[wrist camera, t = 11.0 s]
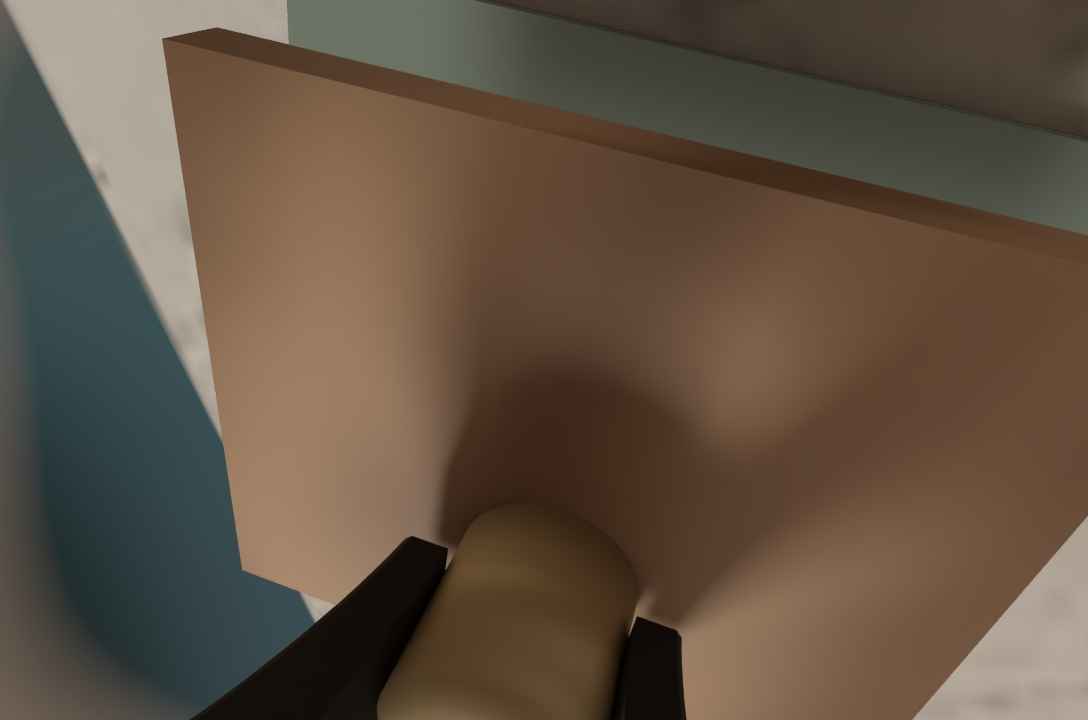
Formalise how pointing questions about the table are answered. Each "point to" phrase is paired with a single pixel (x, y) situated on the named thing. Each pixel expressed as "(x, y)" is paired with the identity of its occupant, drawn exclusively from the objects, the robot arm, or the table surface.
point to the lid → (621, 391)
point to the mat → (715, 101)
